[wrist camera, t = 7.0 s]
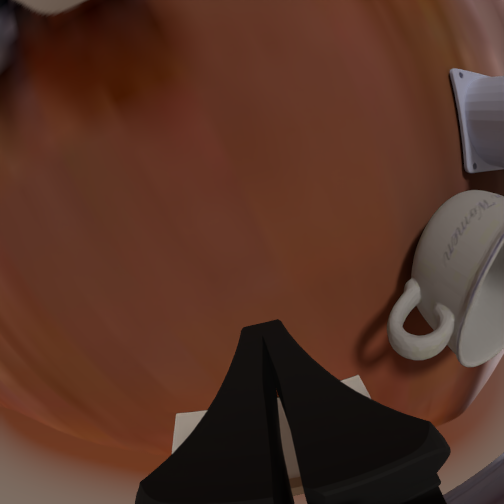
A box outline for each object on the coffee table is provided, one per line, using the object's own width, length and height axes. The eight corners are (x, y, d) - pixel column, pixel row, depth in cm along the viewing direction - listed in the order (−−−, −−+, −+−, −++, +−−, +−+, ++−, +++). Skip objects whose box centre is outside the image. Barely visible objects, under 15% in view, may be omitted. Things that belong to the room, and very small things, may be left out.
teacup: (488, 180, 17) (562, 202, 9) (475, 295, 20) (529, 339, 13) (349, 190, 16) (434, 225, 9) (349, 337, 20) (396, 415, 12)
